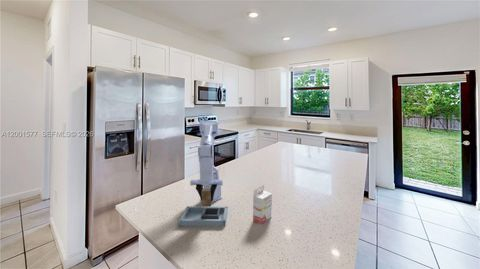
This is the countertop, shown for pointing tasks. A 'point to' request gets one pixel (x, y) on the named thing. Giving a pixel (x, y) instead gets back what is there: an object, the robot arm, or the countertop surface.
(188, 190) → the countertop surface
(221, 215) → the blue shallow rectangular tray
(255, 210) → the ink cartridge box
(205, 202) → the tan wooden block
